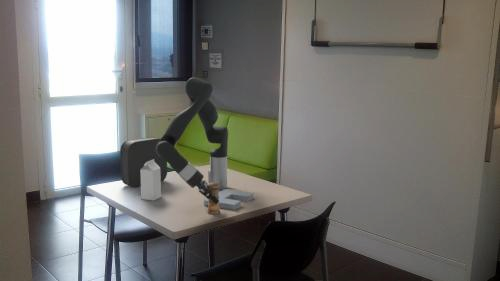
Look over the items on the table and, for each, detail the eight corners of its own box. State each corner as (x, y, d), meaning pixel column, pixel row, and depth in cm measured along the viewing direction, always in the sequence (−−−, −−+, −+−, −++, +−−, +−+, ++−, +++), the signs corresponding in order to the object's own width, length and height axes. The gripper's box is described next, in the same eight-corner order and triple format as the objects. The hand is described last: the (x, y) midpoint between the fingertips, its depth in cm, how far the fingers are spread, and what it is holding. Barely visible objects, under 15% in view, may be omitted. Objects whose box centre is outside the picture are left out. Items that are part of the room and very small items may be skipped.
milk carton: (161, 197, 239) (160, 159, 236) (153, 201, 233) (152, 162, 230) (148, 195, 242) (147, 158, 238) (141, 199, 235) (140, 161, 232)
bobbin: (205, 213, 216) (204, 185, 214) (211, 209, 221) (211, 182, 219) (215, 214, 213) (216, 186, 211) (221, 211, 219) (221, 183, 216)
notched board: (204, 205, 227) (204, 200, 227) (225, 193, 247) (225, 188, 246) (234, 210, 221) (234, 204, 220) (253, 197, 240) (253, 192, 240)
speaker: (128, 189, 252) (127, 142, 248) (119, 186, 258) (118, 140, 254) (167, 181, 270) (166, 137, 266) (158, 178, 276) (157, 135, 272)
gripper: (195, 173, 206) (223, 199, 209) (197, 165, 220) (223, 190, 223) (183, 185, 207) (211, 211, 210) (186, 176, 221) (212, 201, 224)
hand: (217, 200), depth 216 cm, fingers closed on bobbin, 5 cm apart
